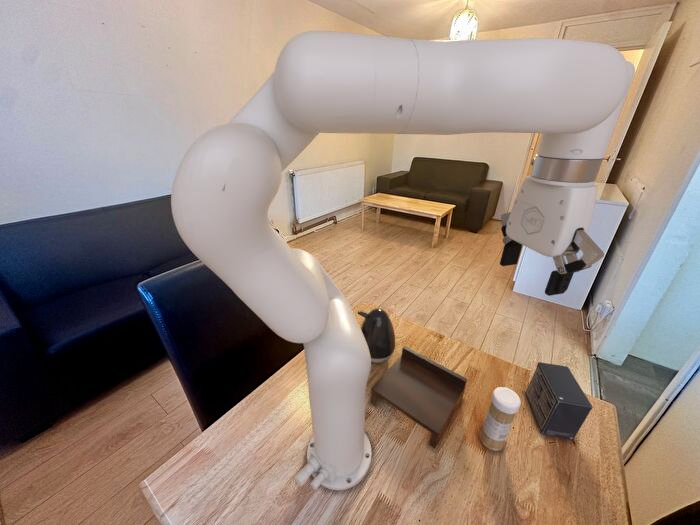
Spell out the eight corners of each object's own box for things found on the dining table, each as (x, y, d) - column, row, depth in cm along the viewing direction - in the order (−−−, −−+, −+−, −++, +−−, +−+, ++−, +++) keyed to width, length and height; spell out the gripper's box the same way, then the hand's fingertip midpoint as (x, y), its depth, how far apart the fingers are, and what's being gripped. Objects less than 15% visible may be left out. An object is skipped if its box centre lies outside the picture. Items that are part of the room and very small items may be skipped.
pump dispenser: (360, 339, 85) (361, 297, 78) (395, 344, 83) (399, 301, 76) (353, 365, 76) (354, 320, 69) (392, 371, 74) (397, 325, 67)
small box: (576, 442, 58) (596, 408, 53) (541, 435, 59) (557, 402, 54) (553, 397, 67) (569, 365, 62) (523, 392, 68) (536, 360, 64)
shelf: (435, 449, 57) (440, 425, 53) (370, 402, 66) (371, 380, 63) (461, 401, 66) (467, 378, 63) (402, 367, 75) (404, 345, 72)
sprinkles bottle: (496, 429, 60) (512, 385, 54) (507, 451, 56) (526, 407, 50) (475, 430, 60) (489, 386, 54) (484, 452, 56) (501, 407, 50)
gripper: (497, 163, 46) (476, 258, 54) (605, 184, 31) (555, 312, 39) (536, 161, 47) (510, 253, 55) (657, 181, 32) (599, 304, 40)
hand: (529, 277), depth 47 cm, fingers open, 9 cm apart
